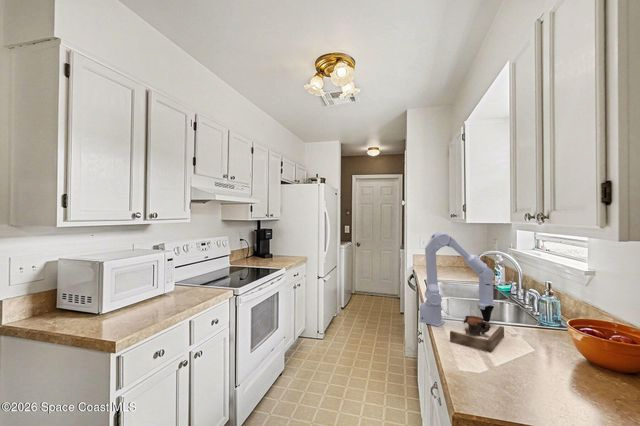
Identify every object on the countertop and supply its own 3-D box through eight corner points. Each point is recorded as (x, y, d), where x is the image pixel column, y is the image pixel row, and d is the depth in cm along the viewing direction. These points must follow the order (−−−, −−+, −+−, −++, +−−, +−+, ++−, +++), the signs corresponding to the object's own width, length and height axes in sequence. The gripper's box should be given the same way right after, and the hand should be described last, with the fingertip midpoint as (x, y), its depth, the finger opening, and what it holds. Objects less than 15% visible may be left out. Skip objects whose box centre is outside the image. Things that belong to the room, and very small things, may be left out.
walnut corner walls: (450, 341, 121) (449, 331, 121) (466, 327, 136) (466, 319, 136) (491, 352, 111) (490, 341, 111) (504, 336, 126) (503, 326, 126)
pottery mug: (458, 333, 131) (458, 314, 135) (471, 339, 135) (471, 320, 138) (484, 334, 121) (484, 314, 125) (498, 341, 125) (497, 321, 129)
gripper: (491, 296, 131) (492, 327, 131) (499, 290, 141) (500, 319, 141) (474, 294, 136) (474, 323, 135) (483, 288, 146) (483, 316, 146)
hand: (486, 321), depth 139 cm, fingers closed
